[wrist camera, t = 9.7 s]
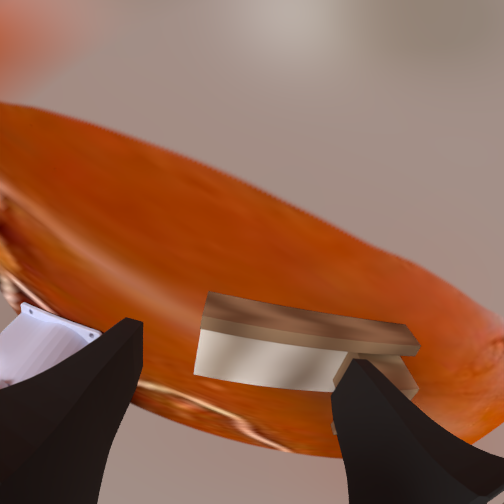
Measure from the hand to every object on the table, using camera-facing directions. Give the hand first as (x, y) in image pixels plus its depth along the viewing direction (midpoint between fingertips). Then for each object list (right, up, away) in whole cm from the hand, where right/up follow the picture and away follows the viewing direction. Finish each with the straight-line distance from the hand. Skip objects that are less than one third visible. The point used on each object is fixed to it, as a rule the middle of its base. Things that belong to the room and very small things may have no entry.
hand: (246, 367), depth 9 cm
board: (+4, -4, +12) cm, 13 cm away
